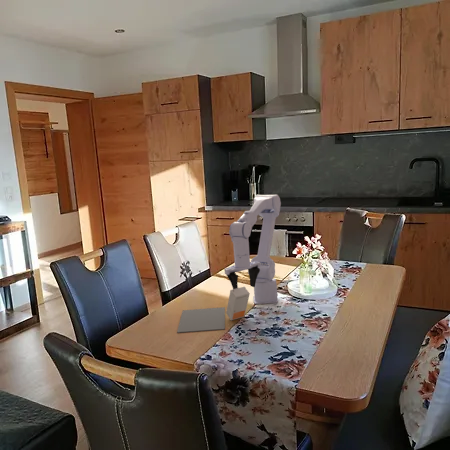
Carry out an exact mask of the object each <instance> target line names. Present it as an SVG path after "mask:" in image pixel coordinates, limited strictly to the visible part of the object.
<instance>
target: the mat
mask: <svg viewBox="0 0 450 450" xmlns="http://www.w3.org/2000/svg"><path fill="white" fill-rule="evenodd" d="M225 322H226V307H225V306H224V307H223V306H222V307H211V308H209V307H208V308H198V309H196V308H195V309H184V310H183V309H182V312H181V315H180V319H179V323H178V327H177V330H176V331H177V332H176V333H177V334H181V333H183V334H184V333H193V332H194V333H195V332H207V331H208V332H209V331H221V330H226V323H225Z"/></svg>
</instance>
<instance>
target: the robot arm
mask: <svg viewBox="0 0 450 450" xmlns="http://www.w3.org/2000/svg"><path fill="white" fill-rule="evenodd" d="M281 205H282V202H281V198H280V196H279V194H256V195H255V197H253V205H252V206H251V208H250V209H249V210H245V211H244V212H243V214H242V215H241V216H240V217H239V219H237V220H236V221H234V222H232V223H231V224H230V226H229V231H228V234H229V237H230V239H231V242H232V245H233V247H232V248H233V258H234V265H231V266H228V267H226V268H224V274H225V275H226V277H227V278H228V280H229V282H230V284H231V287H232V290H233V289H236V288H239V287H238V280H239V275H238V274H237V273H238V272H243V271H246V270H247V274H248V277H249V285H250V287H253V293H254V294H253V303H254V305H261V304H262V305H263V304H276V303H278V302H279V301H278V296H279V295H278V286H277V279H276V278H274V277H275V275H276V262H275V261H274V259H272V258H271V257H270V256H271V250H272V243H273V238H274V231H275V225H276V219H277V218H278V217H279V215H280V211H281ZM258 216H259V217H261V218H262V226H261V232H260V238H259V245H258V250H257V254H256V256H254V257H253V258H251V257H250V242H249V237H251V232H252V230H253V227H254V225H256V223H257V222H258V221H257V220H258Z"/></svg>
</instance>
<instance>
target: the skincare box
mask: <svg viewBox="0 0 450 450" xmlns="http://www.w3.org/2000/svg"><path fill="white" fill-rule="evenodd" d="M249 298H250V292H249V290H248V289H247V288H246V287H245V286H243V287H242V286H241V287H238V288H236V289H233V288H232V289H230V291H229V296H228V302H227V307H226V310H225V315H226V316H227V317H228V319H230V321H234V320H237V319H241V318H244V317H246V311H247V307H248V302H249Z"/></svg>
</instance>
